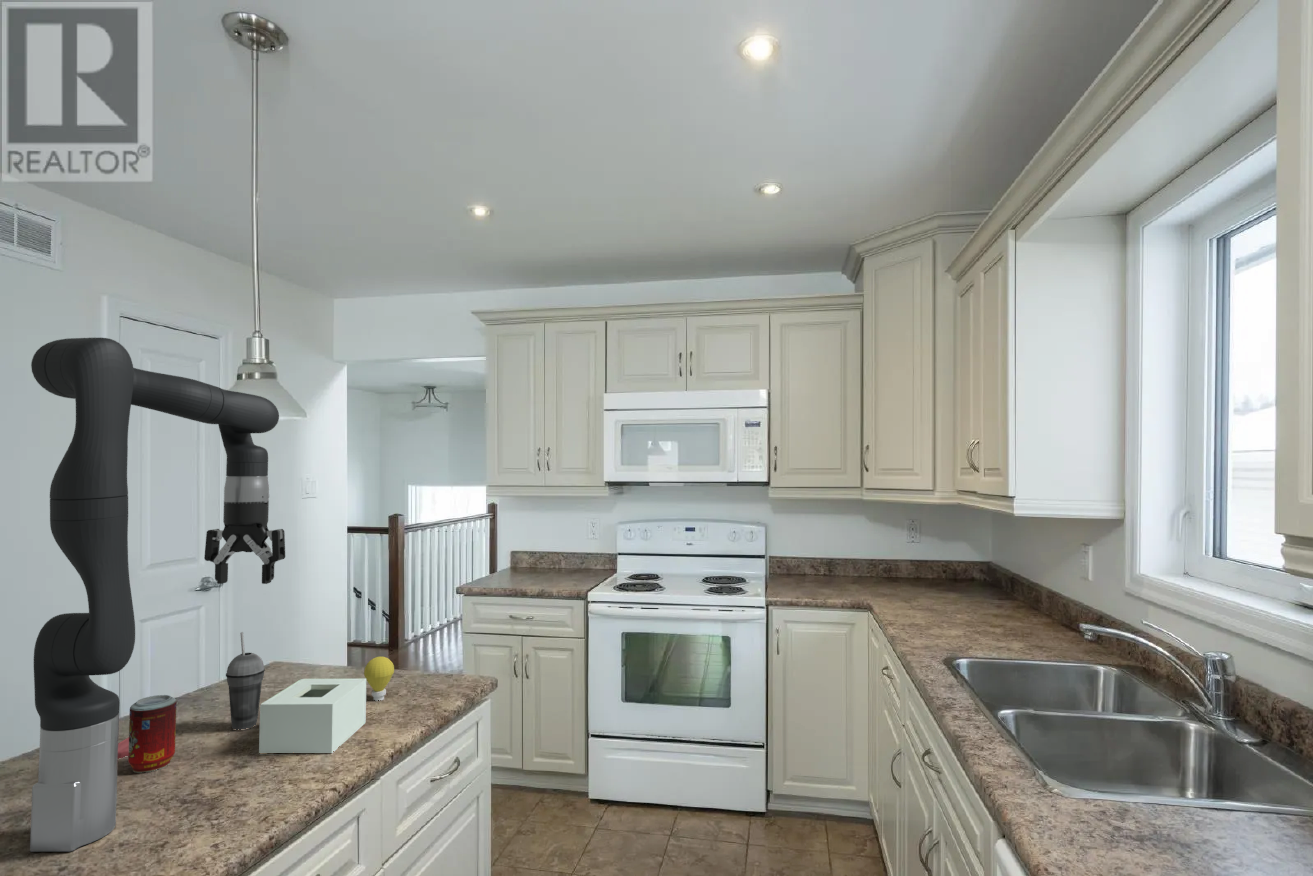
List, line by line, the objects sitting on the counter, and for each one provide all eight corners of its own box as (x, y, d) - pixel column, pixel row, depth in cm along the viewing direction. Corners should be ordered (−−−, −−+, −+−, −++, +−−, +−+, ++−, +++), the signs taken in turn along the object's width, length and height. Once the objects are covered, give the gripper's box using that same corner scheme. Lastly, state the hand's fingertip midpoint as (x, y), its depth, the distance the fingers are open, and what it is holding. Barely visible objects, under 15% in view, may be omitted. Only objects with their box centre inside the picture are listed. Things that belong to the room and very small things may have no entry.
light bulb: (363, 697, 165) (363, 655, 166) (392, 693, 168) (393, 652, 168) (363, 705, 159) (364, 662, 159) (394, 701, 162) (395, 659, 162)
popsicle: (177, 722, 145) (128, 752, 130) (177, 730, 145) (127, 760, 130) (151, 723, 145) (98, 753, 130) (151, 731, 145) (98, 761, 130)
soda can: (122, 767, 127) (125, 700, 127) (168, 755, 132) (170, 690, 133) (133, 778, 122) (136, 708, 123) (180, 765, 128) (182, 698, 128)
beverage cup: (245, 734, 142) (247, 637, 143) (215, 732, 143) (218, 635, 144) (271, 722, 149) (273, 629, 150) (243, 719, 151) (245, 627, 151)
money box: (331, 753, 133) (332, 704, 133) (259, 754, 132) (260, 704, 133) (365, 722, 149) (366, 678, 149) (300, 723, 148) (301, 678, 149)
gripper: (197, 500, 130) (194, 586, 129) (272, 500, 130) (270, 586, 129) (221, 498, 137) (219, 580, 136) (293, 498, 137) (291, 580, 137)
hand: (244, 583), depth 133 cm, fingers open, 8 cm apart
